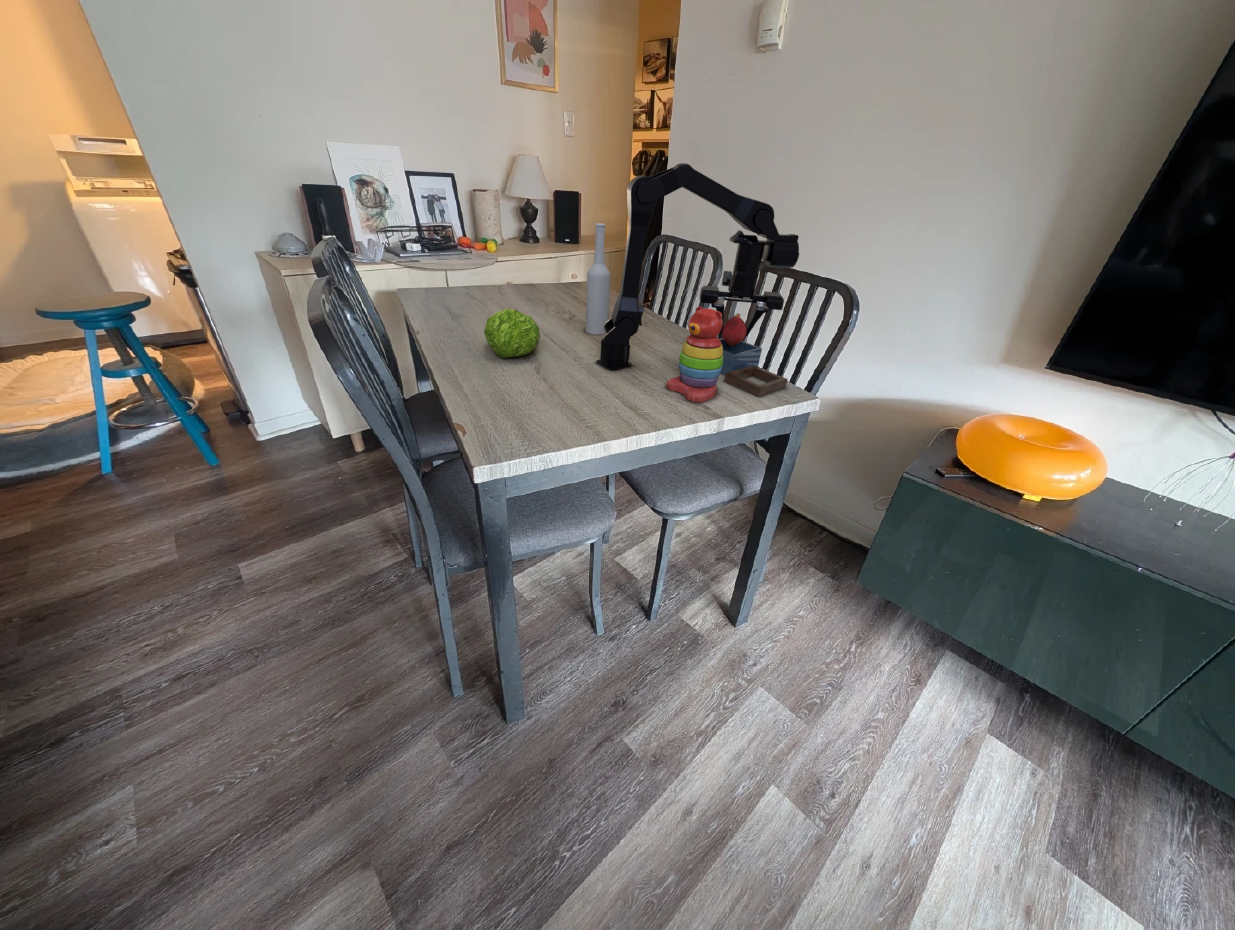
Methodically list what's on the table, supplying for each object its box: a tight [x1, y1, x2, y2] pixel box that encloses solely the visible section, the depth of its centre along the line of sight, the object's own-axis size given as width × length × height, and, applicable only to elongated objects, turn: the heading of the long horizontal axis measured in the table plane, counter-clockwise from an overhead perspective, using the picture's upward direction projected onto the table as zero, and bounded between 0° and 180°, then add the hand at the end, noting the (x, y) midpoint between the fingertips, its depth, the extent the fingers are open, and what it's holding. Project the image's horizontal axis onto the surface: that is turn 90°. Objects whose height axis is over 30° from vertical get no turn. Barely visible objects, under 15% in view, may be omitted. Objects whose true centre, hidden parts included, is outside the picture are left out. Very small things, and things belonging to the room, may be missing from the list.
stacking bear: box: [665, 305, 723, 403], centre depth 100 cm, size 11×10×18 cm
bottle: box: [585, 222, 611, 336], centre depth 130 cm, size 7×7×28 cm
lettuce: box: [483, 307, 541, 359], centre depth 119 cm, size 12×24×13 cm
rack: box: [723, 365, 789, 398], centre depth 109 cm, size 10×10×2 cm
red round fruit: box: [721, 312, 747, 346], centre depth 114 cm, size 6×6×8 cm
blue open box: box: [719, 337, 763, 376], centre depth 117 cm, size 10×10×6 cm
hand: (733, 334), depth 114 cm, fingers closed on red round fruit, 6 cm apart
